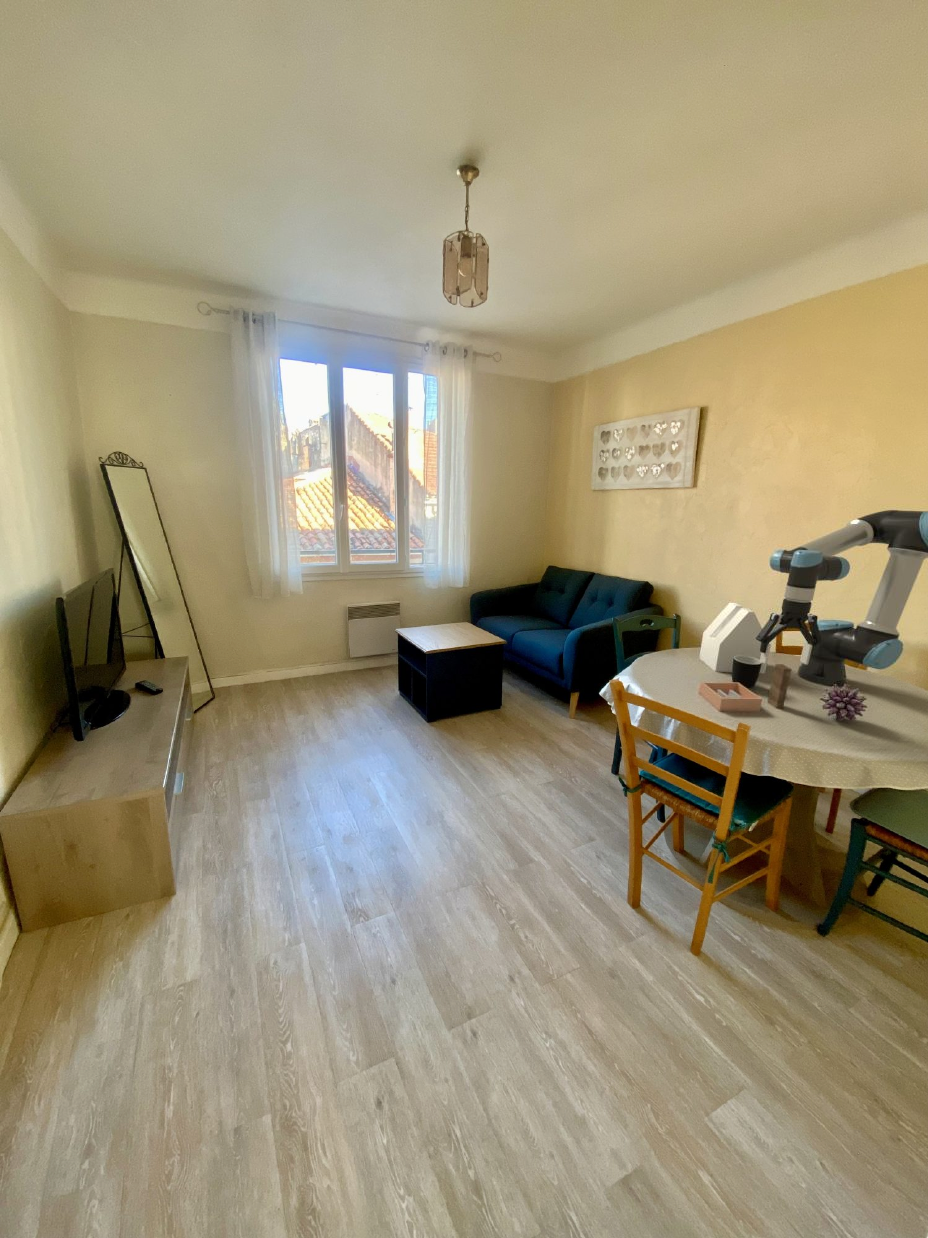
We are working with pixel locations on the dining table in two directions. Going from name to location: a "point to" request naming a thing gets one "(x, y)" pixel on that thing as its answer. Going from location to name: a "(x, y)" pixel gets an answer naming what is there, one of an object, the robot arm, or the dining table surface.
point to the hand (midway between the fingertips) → (783, 662)
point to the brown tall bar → (779, 685)
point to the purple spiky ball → (843, 702)
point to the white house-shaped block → (731, 638)
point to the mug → (746, 670)
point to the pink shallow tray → (730, 696)
